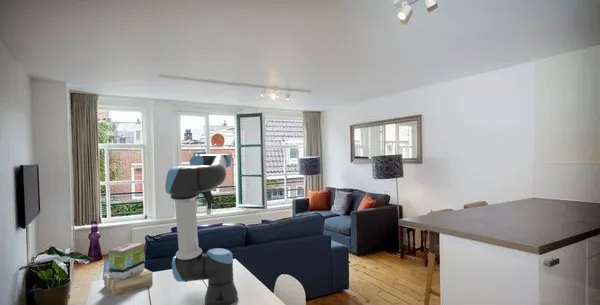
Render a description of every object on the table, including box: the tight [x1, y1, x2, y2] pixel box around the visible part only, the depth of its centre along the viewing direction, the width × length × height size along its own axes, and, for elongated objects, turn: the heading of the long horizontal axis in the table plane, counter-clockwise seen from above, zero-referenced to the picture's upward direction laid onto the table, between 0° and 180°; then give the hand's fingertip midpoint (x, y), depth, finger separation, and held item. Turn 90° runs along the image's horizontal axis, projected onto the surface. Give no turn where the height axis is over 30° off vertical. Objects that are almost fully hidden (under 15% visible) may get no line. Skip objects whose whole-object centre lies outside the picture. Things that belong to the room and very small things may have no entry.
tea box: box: [108, 242, 145, 279], centre depth 172 cm, size 15×10×15 cm
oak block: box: [103, 267, 154, 297], centre depth 172 cm, size 18×18×7 cm
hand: (201, 213), depth 188 cm, fingers open, 13 cm apart
